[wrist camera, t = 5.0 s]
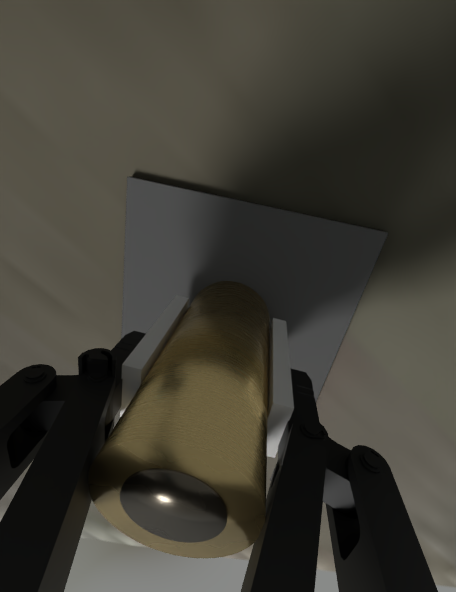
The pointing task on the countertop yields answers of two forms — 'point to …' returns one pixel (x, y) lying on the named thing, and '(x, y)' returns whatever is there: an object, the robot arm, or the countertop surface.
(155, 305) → the mat
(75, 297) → the countertop surface
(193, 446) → the bushing
